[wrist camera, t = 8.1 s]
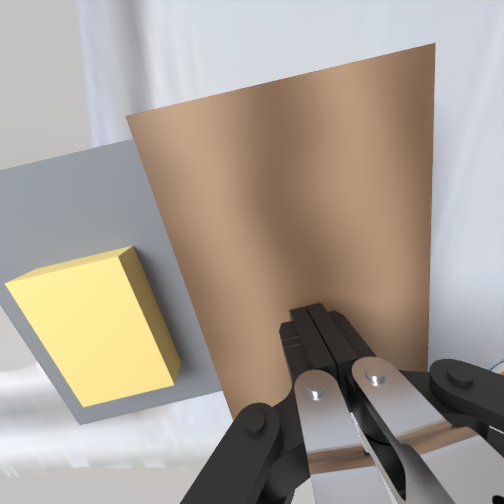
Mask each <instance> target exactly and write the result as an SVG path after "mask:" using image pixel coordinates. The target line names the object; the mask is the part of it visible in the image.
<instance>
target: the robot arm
mask: <svg viewBox="0 0 504 504" xmlns="http://www.w3.org/2000/svg"><path fill="white" fill-rule="evenodd" d="M289 314H290V319H291V321H288V322H284V323H281V326H280V329H279V334H280V339H281V343H282V347H283V352H284V356H285V360H286V364H287V367H288V371H289V375H290V378H291V382H292V388H291V391H290V392H289V394H288V395H287V397H286V398H285V399H284V400H282V401H281V402H279V403H278V404H276V405H275V406H273V407H271V406H270V405H268V404H266V403H261V402H258V403H252V404H250V405H248V406H246V407H245V408H243V409H242V410H241V411H240V412H239V414H238V415H237V416H236V418H235V420H234V421H233V423H232V424H231V426H230V427H229V429H228V430H227V432H226V433H225V435H224V436H223V438H222V440H221V441H220V443H219V444H218V446H217V447H216V449H215V450H214V452H213V453H212V455H211V456H210V458H209V460H208V461H207V463H206V464H205V466H204V467H203V469H202V470H201V472H200V473H199V475H198V477H197V478H196V480H195V481H194V483H193V484H192V486H191V487H190V489H189V490H188V492H187V493H186V495H185V497H184V498H183V500H182V501H181V503H180V504H291V502H292V499H293V496H294V492H295V489H296V488H297V487H298V486H300V485H301V484H302V483H304V482H305V481H306V480H307V479H309V478H310V477H311V482H312V487H313V492H314V497H315V503H316V504H392V502H391V500H390V497H389V495H388V493H387V490H386V488H385V486H384V483H383V481H382V479H381V476H380V474H379V472H378V469H377V467H378V468H379V470H380V472H381V474H382V476H383V477H384V479H385V481H386V483H387V484H388V486H389V488H390V490H391V492H392V493H393V495H394V497H395V499H396V500H397V502H398V504H504V434H502V433H500V432H498V431H496V430H494V429H491V428H489V425H490V426H492V427H494V428H496V429H499V430H501V431H503V432H504V375H501V374H498V373H495V372H492V371H489V370H486V369H483V368H480V367H477V366H475V365H472V364H469V363H466V362H462V361H459V360H454V359H441V360H437V361H435V362H434V363H433V364H432V365H431V366H430V372H417V371H404V370H399V369H397V368H396V367H395V366H394V365H392V364H391V363H390V362H388V361H386V360H384V359H381V358H378V357H377V356H376V355H375V354H374V352H373V351H372V350H371V349H370V347H369V346H368V345H367V343H366V342H365V341H364V340H363V338H362V337H361V336H360V335H359V333H358V332H356V330H355V328H354V327H353V326H352V325H351V323H350V322H349V321H348V319H347V318H346V317H345V316H344V315H342V314H341V313H339V312H337V311H335V310H334V311H330V312H327V311H326V309H325V308H324V306H323V305H322V303H315V304H311V305H307V306H305V307H304V306H303V307H299V308H295V309H291V310H289ZM350 412H353V414H354V416H355V418H356V420H357V422H358V430H359V434H360V436H361V438H362V440H363V442H364V444H365V446H366V447H367V449H368V451H369V453H370V454H371V455H370V454H369V453H367V452H366V451H365V449H364V447H363V445H362V443H361V440H360V438H359V435H358V433H357V430H356V428H355V425H354V423H353V420H352V418H351V415H350ZM371 456H372V457H371ZM375 463H376V464H375ZM376 465H377V467H376Z"/></svg>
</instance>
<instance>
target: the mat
mask: <svg viewBox="0 0 504 504" xmlns="http://www.w3.org/2000/svg"><path fill="white" fill-rule="evenodd" d="M130 246H134V248H135V251H136V253H137V256H138V258H139V260H140V263H141V265H142V268H143V270H144V273H145V275H146V278H147V280H148V282H149V285H150V287H151V290H152V292H153V295H154V297H155V299H156V302H157V304H158V307H159V309H160V312H161V314H162V316H163V319H164V321H165V324H166V326H167V329H168V331H169V334H170V336H171V338H172V341H173V343H174V346H175V348H176V351H177V353H178V355H179V358H180V360H181V364H180V367H179V371H178V374H177V378H176V381H175V385H173V386H169V387H165V388H161V389H157V390H152V391H148V392H144V393H140V394H136V395H132V396H128V397H124V398H120V399H115V400H111V401H107V402H103V403H99V404H95V405H91V406H87V407H83V406H82V405H81V403H80V402H79V400H78V398H77V397H76V395H75V394H74V392H73V391H72V389H71V387H70V386H69V384H68V383H67V381H66V380H65V378H64V376H63V375H62V373H61V372H60V370H59V368H58V367H57V365H56V364H55V362H54V361H53V359H52V357H51V356H50V354H49V353H48V351H47V350H46V348H45V346H44V345H43V343H42V342H41V340H40V339H39V337H38V335H37V334H36V332H35V331H34V329H33V327H32V326H31V324H30V323H29V321H28V320H27V318H26V316H25V315H24V313H23V312H22V310H21V309H20V307H19V305H18V304H17V302H16V301H15V299H14V298H13V296H12V294H11V293H10V291H9V290H8V288H7V286H6V285H5V283H7V282H9V281H11V280H14V279H16V278H18V277H20V276H22V275H24V274H26V273H28V272H31V271H33V270H35V269H38V268H42V267H46V266H51V265H55V264H59V263H63V262H67V261H71V260H76V259H80V258H84V257H88V256H92V255H96V254H101V253H105V252H109V251H113V250H117V249H121V248H125V247H130ZM0 305H1V307H2V308H3V310H4V311H5V313H6V314H7V316H8V317H9V319H10V320H11V322H12V323H13V325H14V326H15V328H16V329H17V331H18V332H19V334H20V335H21V337H22V338H23V340H24V341H25V343H26V344H27V346H28V347H29V349H30V350H31V352H32V354H33V355H34V357H35V358H36V360H37V361H38V363H39V364H40V366H41V367H42V369H43V370H44V372H45V373H46V375H47V376H48V378H49V379H50V381H51V382H52V384H53V385H54V387H55V388H56V390H57V391H58V393H59V394H60V396H61V397H62V399H63V400H64V402H65V403H66V405H67V406H68V408H69V409H70V411H71V413H72V414H73V416H74V417H75V419H76V420H77V422H78V423H79V425H82V424H86V423H90V422H94V421H98V420H103V419H107V418H111V417H115V416H119V415H123V414H127V413H131V412H136V411H140V410H144V409H148V408H152V407H156V406H160V405H164V404H168V403H173V402H177V401H181V400H185V399H189V398H193V397H197V396H201V395H206V394H210V393H214V392H218V391H222V387H221V384H220V382H219V379H218V376H217V373H216V370H215V367H214V365H213V362H212V359H211V356H210V353H209V350H208V348H207V345H206V342H205V339H204V336H203V333H202V331H201V328H200V325H199V322H198V319H197V317H196V314H195V311H194V308H193V305H192V302H191V300H190V297H189V294H188V291H187V288H186V285H185V283H184V280H183V277H182V274H181V271H180V268H179V266H178V263H177V260H176V257H175V254H174V252H173V249H172V246H171V243H170V240H169V237H168V235H167V232H166V229H165V226H164V223H163V220H162V218H161V215H160V212H159V209H158V206H157V203H156V201H155V198H154V195H153V192H152V189H151V187H150V184H149V181H148V178H147V175H146V172H145V170H144V167H143V164H142V161H141V158H140V155H139V153H138V150H137V147H136V144H135V141H134V139H131V140H126V141H122V142H118V143H114V144H110V145H105V146H101V147H97V148H93V149H89V150H84V151H80V152H76V153H72V154H68V155H64V156H59V157H55V158H51V159H46V160H42V161H38V162H34V163H30V164H25V165H21V166H17V167H13V168H8V169H4V170H0Z"/></svg>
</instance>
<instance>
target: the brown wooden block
mask: <svg viewBox="0 0 504 504" xmlns="http://www.w3.org/2000/svg"><path fill="white" fill-rule="evenodd" d="M434 82H435V43H433V44H429V45H424V46H420V47H416V48H412V49H407V50H403V51H399V52H395V53H390V54H386V55H382V56H378V57H374V58H369V59H365V60H361V61H357V62H352V63H348V64H344V65H340V66H336V67H331V68H327V69H323V70H319V71H314V72H310V73H306V74H302V75H297V76H293V77H289V78H285V79H281V80H276V81H272V82H268V83H264V84H259V85H255V86H251V87H247V88H242V89H238V90H234V91H230V92H226V93H221V94H217V95H213V96H209V97H204V98H200V99H196V100H192V101H188V102H183V103H179V104H175V105H171V106H166V107H162V108H158V109H154V110H149V111H145V112H141V113H137V114H133V115H128V116H126V119H127V122H128V124H129V127H130V130H131V133H132V136H133V138H134V141H135V144H136V147H137V150H138V153H139V155H140V158H141V161H142V164H143V167H144V170H145V172H146V175H147V178H148V181H149V184H150V187H151V189H152V192H153V195H154V198H155V201H156V203H157V206H158V209H159V212H160V215H161V218H162V220H163V223H164V226H165V229H166V232H167V235H168V237H169V240H170V243H171V246H172V249H173V252H174V254H175V257H176V260H177V263H178V266H179V268H180V271H181V274H182V277H183V280H184V283H185V285H186V288H187V291H188V294H189V297H190V300H191V302H192V305H193V308H194V311H195V314H196V317H197V319H198V322H199V325H200V328H201V331H202V333H203V336H204V339H205V342H206V345H207V348H208V350H209V353H210V356H211V359H212V362H213V365H214V367H215V370H216V373H217V376H218V379H219V382H220V384H221V387H222V390H223V393H224V396H225V399H226V401H227V404H228V407H229V410H230V413H231V415H232V418H233V421H234V420H235V418H236V416H237V415H238V414H239V412H240V411H241V410H242V409H243V408H245V407H246V406H248V405H250V404H252V403H258V402H261V403H266V404H268V405H270V406H271V407H273V406H275V405H276V404H278V403H279V402H281V401H282V400H284V399H285V398H286V397H287V395H288V394H289V392H290V391H291V388H292V382H291V378H290V375H289V371H288V367H287V364H286V360H285V356H284V352H283V347H282V343H281V339H280V334H279V329H280V326H281V323H284V322H288V321H291V319H290V314H289V310H291V309H295V308H299V307H303V306H304V307H305V306H307V305H311V304H315V303H322V305H323V306H324V308H325V309H326V311H327V312H330V311H334V310H335V311H337V312H339V313H341V314H342V315H344V316H345V317H346V318H347V319H348V321H349V322H350V323H351V325H352V326H353V327H354V328H355V330H356V332H358V333H359V335H360V336H361V337H362V338H363V340H364V341H365V342H366V343H367V345H368V346H369V347H370V349H371V350H372V351H373V352H374V354H375V355H376V356H377V357H378V358H381V359H384V360H386V361H388V362H390V363H391V364H392V365H394V366H395V367H396V368H397V369H399V370H404V371H417V372H427V366H428V325H429V285H430V244H431V204H432V163H433V123H434Z"/></svg>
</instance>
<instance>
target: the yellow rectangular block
mask: <svg viewBox="0 0 504 504" xmlns="http://www.w3.org/2000/svg"><path fill="white" fill-rule="evenodd" d="M5 285H6V286H7V288H8V290H9V291H10V293H11V294H12V296H13V298H14V299H15V301H16V302H17V304H18V305H19V307H20V309H21V310H22V312H23V313H24V315H25V316H26V318H27V320H28V321H29V323H30V324H31V326H32V327H33V329H34V331H35V332H36V334H37V335H38V337H39V339H40V340H41V342H42V343H43V345H44V346H45V348H46V350H47V351H48V353H49V354H50V356H51V357H52V359H53V361H54V362H55V364H56V365H57V367H58V368H59V370H60V372H61V373H62V375H63V376H64V378H65V380H66V381H67V383H68V384H69V386H70V387H71V389H72V391H73V392H74V394H75V395H76V397H77V398H78V400H79V402H80V403H81V405H82V406H83V407H87V406H91V405H95V404H99V403H103V402H107V401H111V400H115V399H120V398H124V397H128V396H132V395H136V394H140V393H144V392H148V391H152V390H157V389H161V388H165V387H169V386H173V385H175V381H176V378H177V374H178V371H179V367H180V364H181V360H180V358H179V355H178V353H177V351H176V348H175V346H174V343H173V341H172V338H171V336H170V334H169V331H168V329H167V326H166V324H165V321H164V319H163V316H162V314H161V312H160V309H159V307H158V304H157V302H156V299H155V297H154V295H153V292H152V290H151V287H150V285H149V282H148V280H147V278H146V275H145V273H144V270H143V268H142V265H141V263H140V260H139V258H138V256H137V253H136V251H135V248H134V246H130V247H125V248H121V249H117V250H113V251H109V252H105V253H101V254H96V255H92V256H88V257H84V258H80V259H76V260H71V261H67V262H63V263H59V264H55V265H51V266H46V267H42V268H38V269H35V270H33V271H31V272H28V273H26V274H24V275H22V276H20V277H18V278H16V279H14V280H11V281H9V282H7V283H5Z"/></svg>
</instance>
